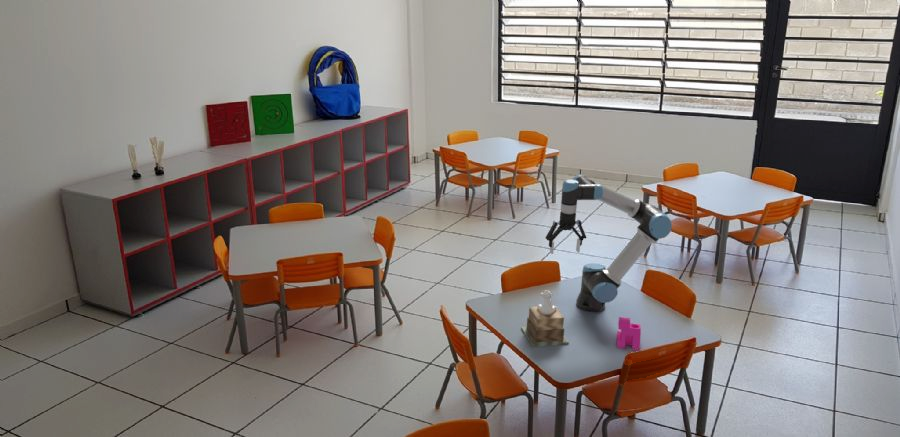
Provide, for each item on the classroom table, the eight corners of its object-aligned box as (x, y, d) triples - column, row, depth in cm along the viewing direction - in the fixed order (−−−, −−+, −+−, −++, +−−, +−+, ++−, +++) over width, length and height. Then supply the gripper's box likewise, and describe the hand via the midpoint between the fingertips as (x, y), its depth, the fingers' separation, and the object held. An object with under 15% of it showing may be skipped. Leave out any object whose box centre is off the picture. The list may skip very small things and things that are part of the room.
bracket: (616, 335, 349) (619, 317, 346) (638, 338, 348) (640, 319, 344) (617, 348, 338) (619, 328, 335) (639, 350, 336) (642, 331, 333)
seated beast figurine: (556, 309, 345) (558, 286, 341) (556, 317, 337) (558, 294, 333) (537, 307, 347) (539, 284, 343) (536, 315, 339) (537, 292, 335)
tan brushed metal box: (555, 325, 357) (557, 302, 352) (568, 343, 340) (570, 319, 336) (521, 328, 353) (523, 304, 349) (532, 346, 337) (534, 322, 332)
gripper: (589, 208, 350) (585, 248, 357) (541, 210, 345) (538, 250, 353) (595, 213, 343) (591, 253, 351) (546, 215, 338) (542, 256, 346)
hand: (564, 252), depth 352 cm, fingers open, 13 cm apart
